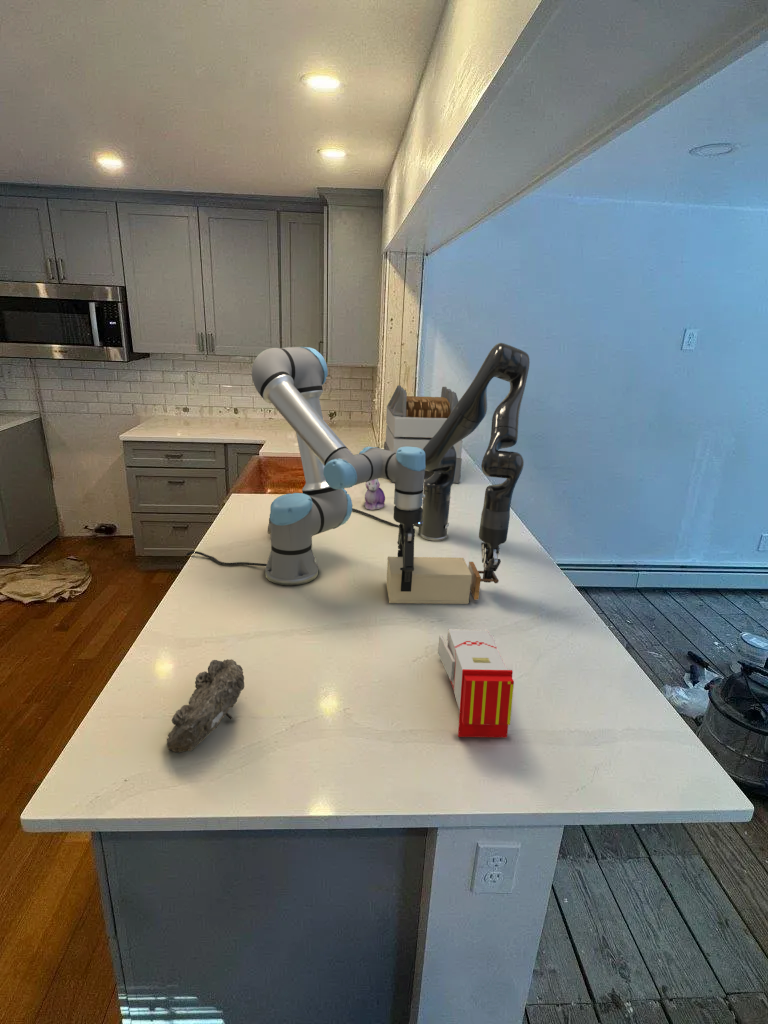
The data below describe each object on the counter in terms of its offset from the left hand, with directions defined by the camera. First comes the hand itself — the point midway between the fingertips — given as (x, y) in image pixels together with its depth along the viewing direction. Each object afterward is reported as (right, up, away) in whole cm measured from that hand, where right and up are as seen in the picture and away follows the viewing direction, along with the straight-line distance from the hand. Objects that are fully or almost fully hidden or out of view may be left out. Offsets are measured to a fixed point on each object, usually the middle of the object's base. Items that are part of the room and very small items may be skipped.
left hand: (403, 580), depth 157 cm
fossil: (-38, -20, -49) cm, 65 cm away
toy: (+12, -19, -38) cm, 44 cm away
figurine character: (-41, +12, +39) cm, 58 cm away
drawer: (+13, -3, +2) cm, 13 cm away
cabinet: (+6, -4, +2) cm, 8 cm away
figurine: (-9, +21, +69) cm, 73 cm away
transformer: (+12, +38, +118) cm, 125 cm away
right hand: (+23, 0, +2) cm, 23 cm away
